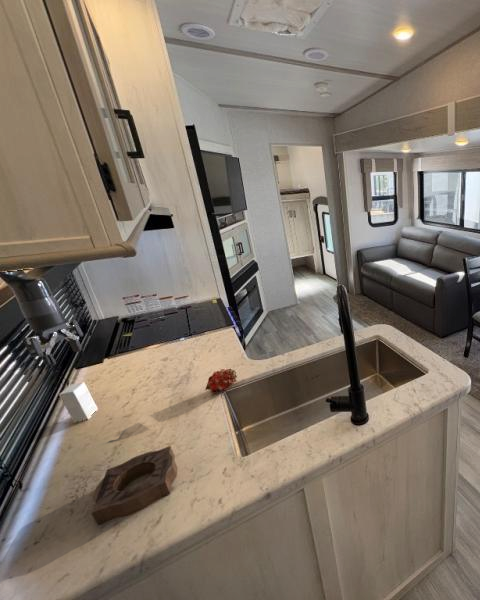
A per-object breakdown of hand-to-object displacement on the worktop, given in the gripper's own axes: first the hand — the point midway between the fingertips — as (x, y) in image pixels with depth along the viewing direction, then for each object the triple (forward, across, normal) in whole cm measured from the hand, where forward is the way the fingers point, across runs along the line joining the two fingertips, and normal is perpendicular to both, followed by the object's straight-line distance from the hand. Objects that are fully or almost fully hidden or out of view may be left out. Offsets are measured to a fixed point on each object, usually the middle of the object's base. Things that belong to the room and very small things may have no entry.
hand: (65, 357), depth 99 cm
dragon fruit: (+24, -12, +39) cm, 47 cm away
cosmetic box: (+24, -2, -4) cm, 25 cm away
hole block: (+24, +30, +38) cm, 54 cm away
